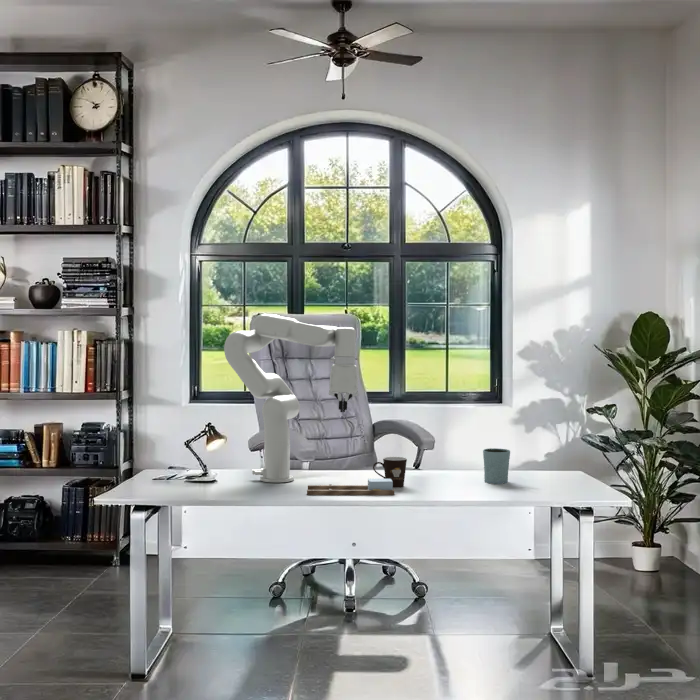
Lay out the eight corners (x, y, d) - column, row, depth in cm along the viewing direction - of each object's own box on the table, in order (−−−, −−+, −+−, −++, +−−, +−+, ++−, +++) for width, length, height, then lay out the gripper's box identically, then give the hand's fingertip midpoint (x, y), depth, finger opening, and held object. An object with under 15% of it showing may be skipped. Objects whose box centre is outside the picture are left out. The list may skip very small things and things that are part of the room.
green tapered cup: (500, 479, 344) (500, 447, 344) (515, 483, 335) (515, 451, 335) (477, 480, 340) (477, 449, 340) (492, 485, 331) (492, 452, 331)
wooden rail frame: (306, 494, 310) (307, 489, 310) (307, 489, 321) (307, 484, 321) (394, 495, 311) (394, 489, 311) (392, 489, 321) (392, 484, 321)
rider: (369, 494, 312) (369, 481, 312) (367, 491, 318) (367, 478, 318) (392, 494, 313) (392, 481, 313) (390, 491, 319) (390, 478, 319)
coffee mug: (409, 484, 331) (409, 457, 331) (403, 488, 323) (403, 460, 323) (379, 482, 335) (379, 455, 335) (371, 486, 327) (372, 459, 326)
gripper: (323, 361, 323) (321, 412, 324) (365, 362, 323) (363, 413, 324) (324, 360, 331) (322, 410, 332) (365, 361, 331) (363, 411, 331)
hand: (342, 411), depth 328 cm, fingers closed
